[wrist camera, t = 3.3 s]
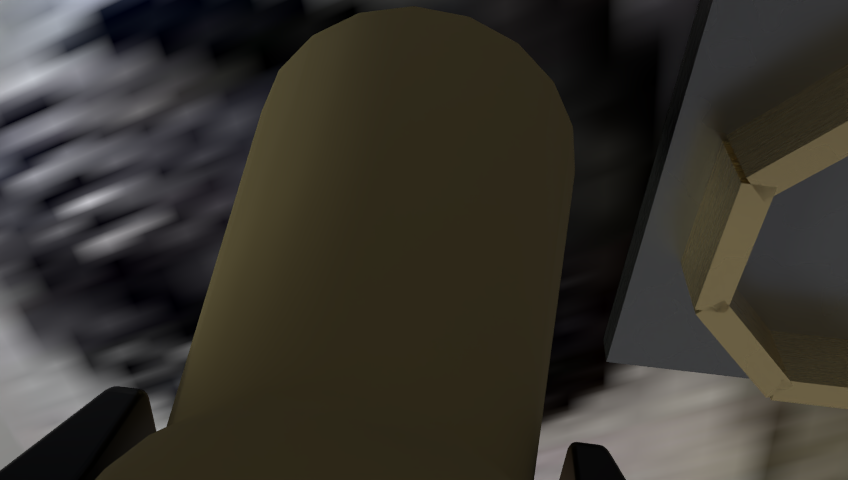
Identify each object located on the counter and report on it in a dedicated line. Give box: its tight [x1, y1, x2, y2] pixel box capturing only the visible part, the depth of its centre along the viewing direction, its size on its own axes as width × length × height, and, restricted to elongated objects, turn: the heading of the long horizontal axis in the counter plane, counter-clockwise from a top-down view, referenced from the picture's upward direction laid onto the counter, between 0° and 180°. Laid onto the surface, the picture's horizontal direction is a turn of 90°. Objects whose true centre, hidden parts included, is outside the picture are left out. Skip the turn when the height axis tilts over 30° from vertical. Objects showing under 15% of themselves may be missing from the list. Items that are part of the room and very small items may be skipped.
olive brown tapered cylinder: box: [95, 6, 575, 480], centre depth 10 cm, size 6×6×11 cm
